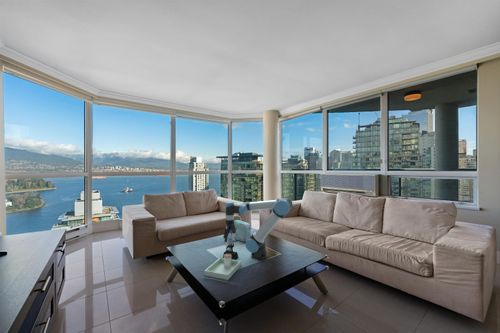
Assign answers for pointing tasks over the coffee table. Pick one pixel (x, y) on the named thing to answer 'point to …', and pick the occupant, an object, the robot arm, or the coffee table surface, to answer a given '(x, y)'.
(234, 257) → the sculpture
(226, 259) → the jar
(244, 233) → the lunch box
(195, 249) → the coffee table surface
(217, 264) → the tote
